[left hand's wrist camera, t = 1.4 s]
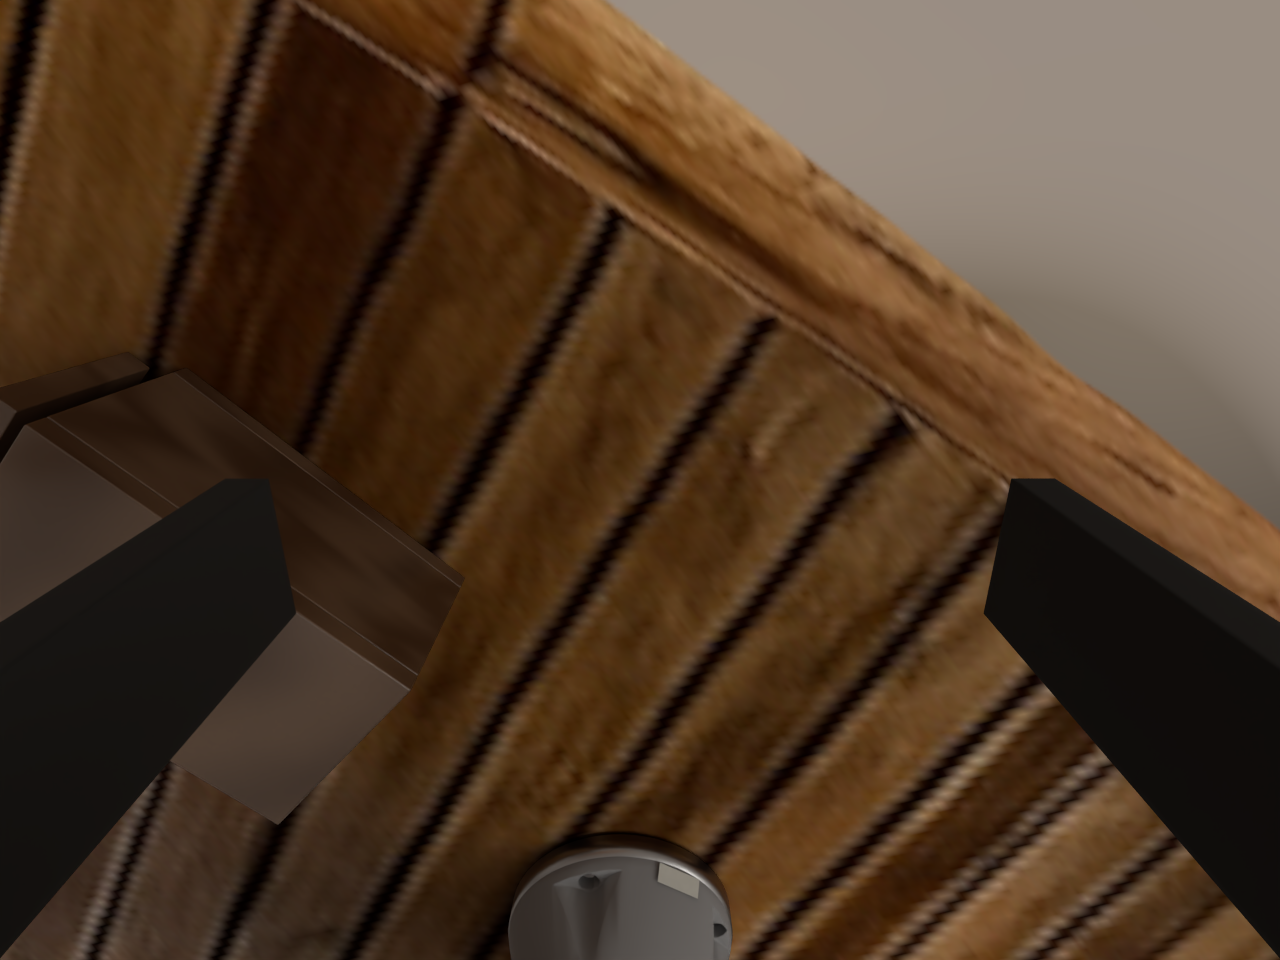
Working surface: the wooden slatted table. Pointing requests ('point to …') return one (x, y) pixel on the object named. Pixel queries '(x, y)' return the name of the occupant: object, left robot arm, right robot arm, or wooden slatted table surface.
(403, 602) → the cabinet
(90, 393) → the drawer
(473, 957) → the wooden slatted table surface
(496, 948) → the wooden slatted table surface
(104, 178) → the wooden slatted table surface
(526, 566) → the wooden slatted table surface
